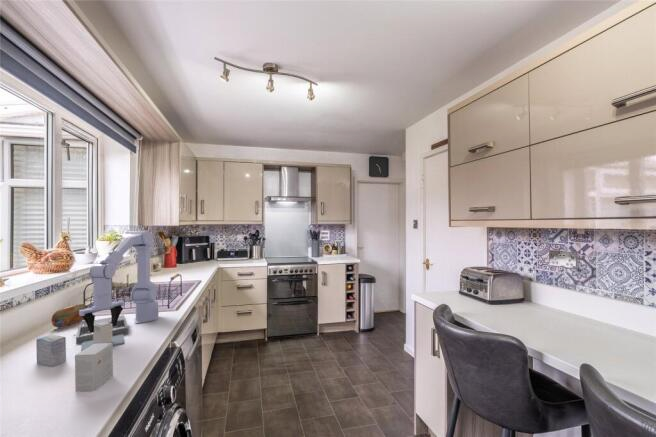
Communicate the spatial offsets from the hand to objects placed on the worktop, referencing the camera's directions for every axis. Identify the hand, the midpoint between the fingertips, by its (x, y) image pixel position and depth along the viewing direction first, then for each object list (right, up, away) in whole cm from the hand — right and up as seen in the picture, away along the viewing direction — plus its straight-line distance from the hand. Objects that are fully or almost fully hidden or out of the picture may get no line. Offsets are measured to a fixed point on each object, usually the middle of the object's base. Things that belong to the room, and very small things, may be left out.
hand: (103, 328), depth 115 cm
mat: (0, -6, 0) cm, 6 cm away
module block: (0, -5, 0) cm, 5 cm away
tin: (-32, -7, +22) cm, 40 cm away
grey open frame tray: (-12, -6, +16) cm, 21 cm away
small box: (+20, -6, -29) cm, 35 cm away
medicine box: (-6, -6, -15) cm, 18 cm away
